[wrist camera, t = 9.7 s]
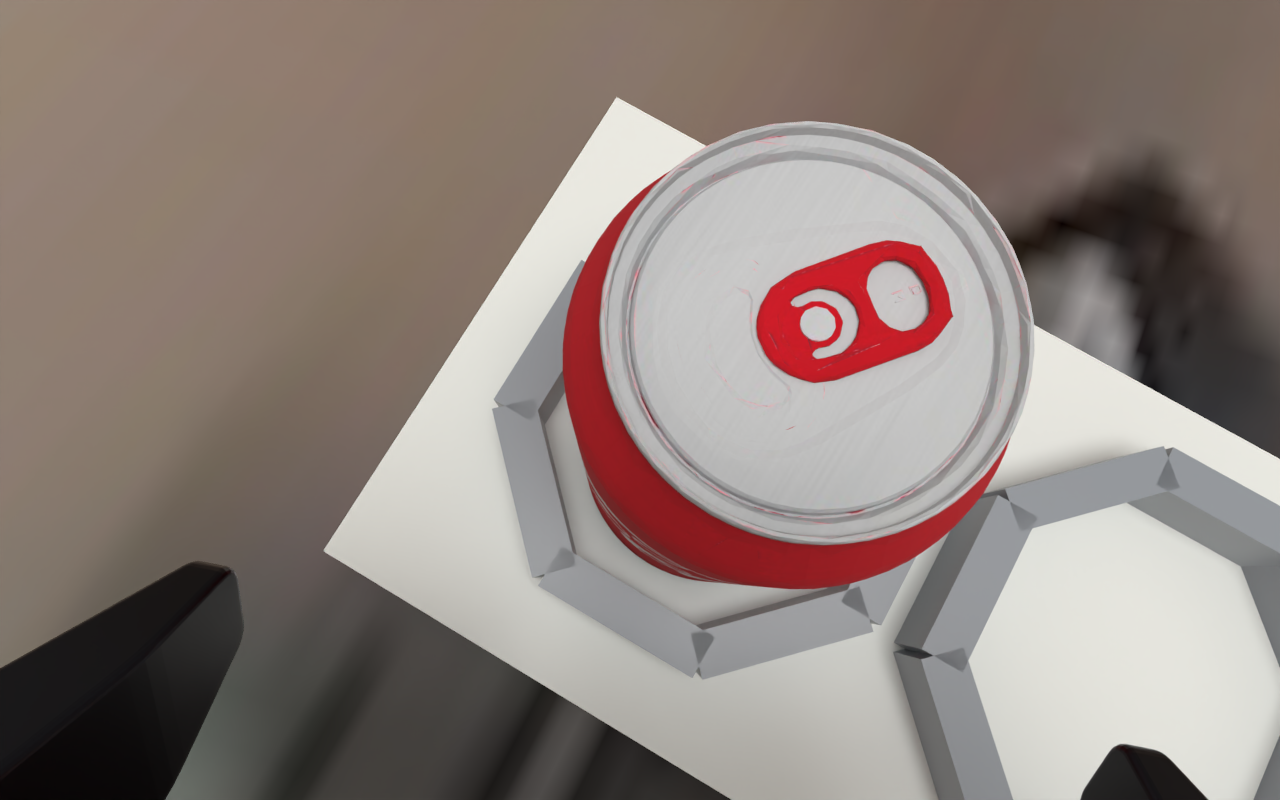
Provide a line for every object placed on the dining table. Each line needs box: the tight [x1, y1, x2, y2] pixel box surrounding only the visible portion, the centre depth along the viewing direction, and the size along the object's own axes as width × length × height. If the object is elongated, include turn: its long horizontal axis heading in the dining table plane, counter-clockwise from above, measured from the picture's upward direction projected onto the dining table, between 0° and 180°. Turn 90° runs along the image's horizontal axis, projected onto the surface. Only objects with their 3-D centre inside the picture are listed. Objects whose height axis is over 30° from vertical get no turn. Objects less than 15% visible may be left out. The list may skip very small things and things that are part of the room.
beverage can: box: [563, 121, 1034, 589], centre depth 16 cm, size 6×6×12 cm
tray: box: [324, 98, 1280, 800], centre depth 21 cm, size 25×14×3 cm, turn 60°
